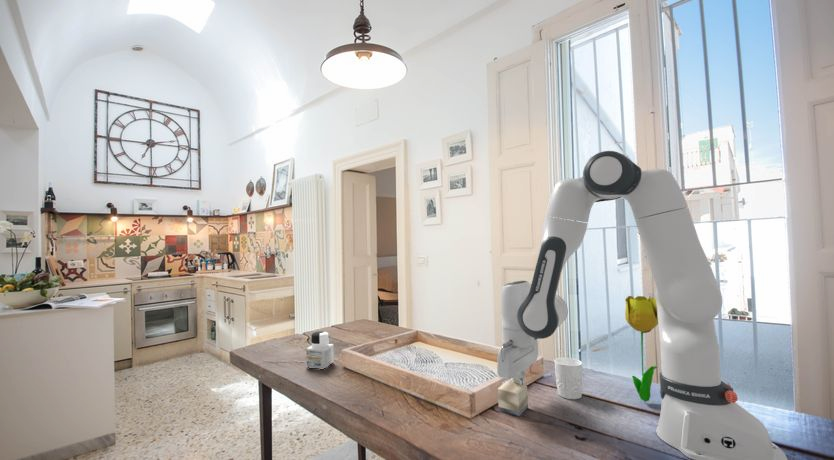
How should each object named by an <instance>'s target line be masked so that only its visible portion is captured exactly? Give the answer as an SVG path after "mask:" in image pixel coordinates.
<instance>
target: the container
mask: <svg viewBox="0 0 834 460" xmlns="http://www.w3.org/2000/svg"><path fill="white" fill-rule="evenodd" d="M329 336H330V335H329V332H327V331H324V330H323V331H316V332H313V333H311V345H310V346H308V347H307V348H305V349H306V350H305V351H306V358H305V359H306V368H307V367H309V368H325V367H327V366H328V365H330V364H331V363H332V362H334V363H335V353H334V352H335V349H334V343H330V339H329ZM309 368H308V369H309ZM327 368H328V367H327Z"/></svg>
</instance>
